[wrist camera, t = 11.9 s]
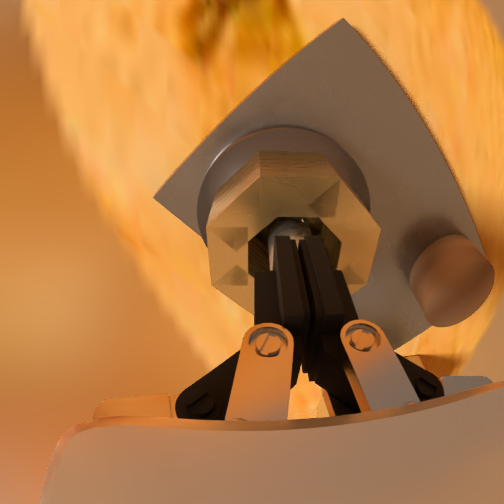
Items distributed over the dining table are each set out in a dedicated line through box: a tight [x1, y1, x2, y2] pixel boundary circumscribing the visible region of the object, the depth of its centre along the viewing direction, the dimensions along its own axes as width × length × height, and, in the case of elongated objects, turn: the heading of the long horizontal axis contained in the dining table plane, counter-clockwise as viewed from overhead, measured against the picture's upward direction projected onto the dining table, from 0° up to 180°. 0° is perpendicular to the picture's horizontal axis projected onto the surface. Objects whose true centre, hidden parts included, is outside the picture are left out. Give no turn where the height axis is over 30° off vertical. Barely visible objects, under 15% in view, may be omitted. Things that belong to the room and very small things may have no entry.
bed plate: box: [153, 18, 486, 350], centre depth 19 cm, size 23×14×1 cm, turn 45°
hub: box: [197, 124, 370, 271], centre depth 15 cm, size 9×9×7 cm
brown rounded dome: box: [409, 234, 495, 327], centre depth 18 cm, size 6×6×4 cm
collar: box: [206, 151, 381, 315], centre depth 14 cm, size 7×7×4 cm
